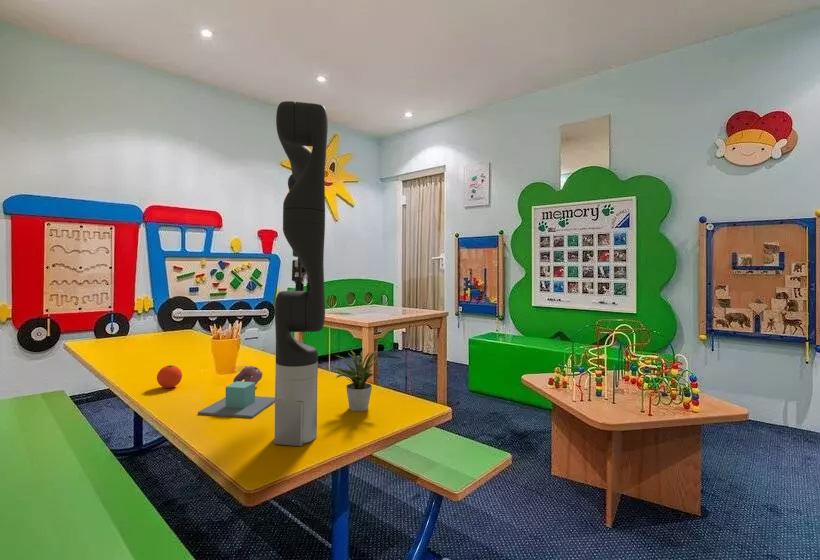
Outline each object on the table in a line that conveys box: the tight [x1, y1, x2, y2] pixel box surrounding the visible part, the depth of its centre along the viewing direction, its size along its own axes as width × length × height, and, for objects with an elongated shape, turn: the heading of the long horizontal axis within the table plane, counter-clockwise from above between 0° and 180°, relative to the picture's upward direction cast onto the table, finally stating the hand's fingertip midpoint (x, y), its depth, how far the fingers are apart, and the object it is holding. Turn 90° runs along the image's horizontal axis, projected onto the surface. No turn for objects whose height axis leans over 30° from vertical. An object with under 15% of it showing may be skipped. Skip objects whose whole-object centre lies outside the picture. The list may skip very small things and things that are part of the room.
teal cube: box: [225, 381, 256, 408], centre depth 114 cm, size 6×6×6 cm
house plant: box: [331, 350, 381, 412], centre depth 116 cm, size 14×14×16 cm
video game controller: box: [232, 365, 263, 386], centre depth 135 cm, size 10×5×7 cm, turn 49°
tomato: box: [156, 364, 183, 389], centre depth 131 cm, size 8×7×7 cm
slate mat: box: [197, 395, 275, 419], centre depth 114 cm, size 15×15×1 cm
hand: (305, 295), depth 125 cm, fingers open, 8 cm apart
